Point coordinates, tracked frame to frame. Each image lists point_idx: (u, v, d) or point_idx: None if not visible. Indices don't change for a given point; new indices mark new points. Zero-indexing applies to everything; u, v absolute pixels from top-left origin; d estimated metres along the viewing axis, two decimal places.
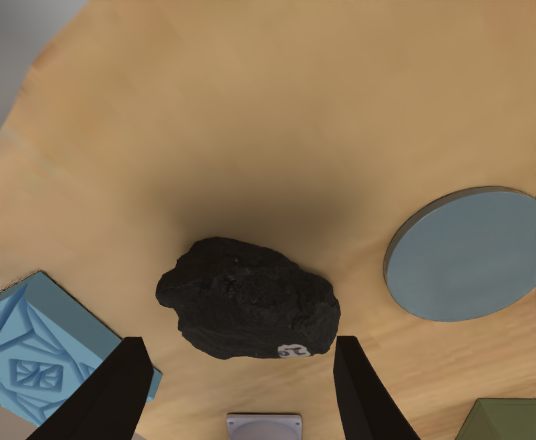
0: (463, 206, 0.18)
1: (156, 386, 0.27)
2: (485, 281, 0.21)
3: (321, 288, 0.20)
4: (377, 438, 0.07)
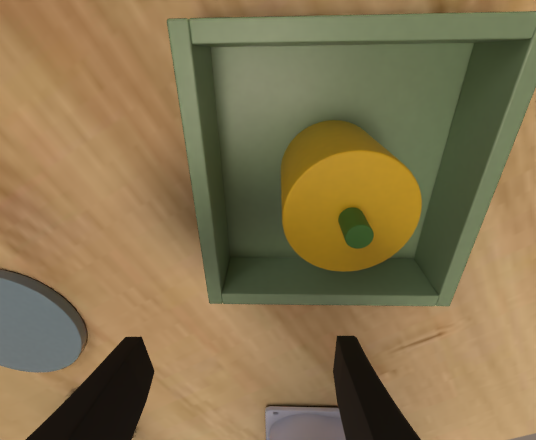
0: None
1: None
2: (19, 315, 0.22)
3: None
4: (376, 438, 0.07)
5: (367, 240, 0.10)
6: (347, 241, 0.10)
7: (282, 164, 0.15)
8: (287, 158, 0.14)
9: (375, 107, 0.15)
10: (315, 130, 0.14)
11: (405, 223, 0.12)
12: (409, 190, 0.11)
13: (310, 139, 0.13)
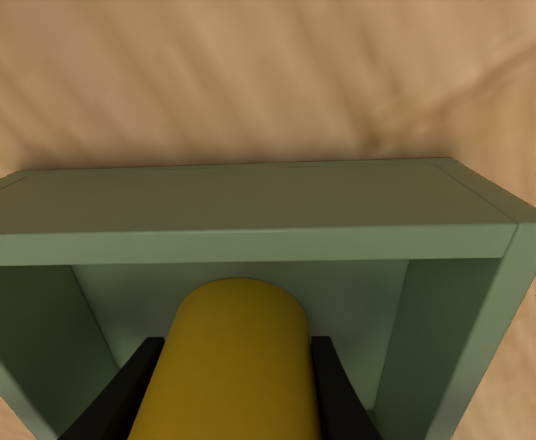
0: None
1: None
2: None
3: None
4: (339, 438, 0.07)
5: None
6: None
7: None
8: None
9: (293, 263, 0.10)
10: (199, 310, 0.10)
11: None
12: None
13: (181, 338, 0.09)
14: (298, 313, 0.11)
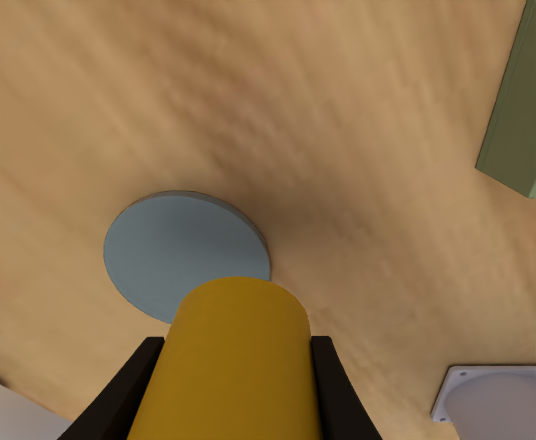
0: (127, 291, 0.21)
1: None
2: (205, 251, 0.19)
3: None
4: (338, 438, 0.07)
5: None
6: None
7: None
8: (163, 345, 0.10)
9: None
10: (199, 309, 0.10)
11: None
12: None
13: (182, 337, 0.09)
14: (298, 311, 0.11)
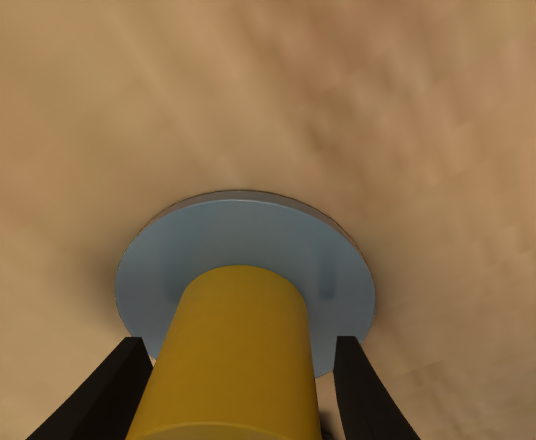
0: (149, 342, 0.14)
1: None
2: None
3: None
4: (377, 438, 0.07)
5: None
6: None
7: None
8: None
9: None
10: (202, 294, 0.10)
11: None
12: None
13: (186, 319, 0.09)
14: (296, 298, 0.11)
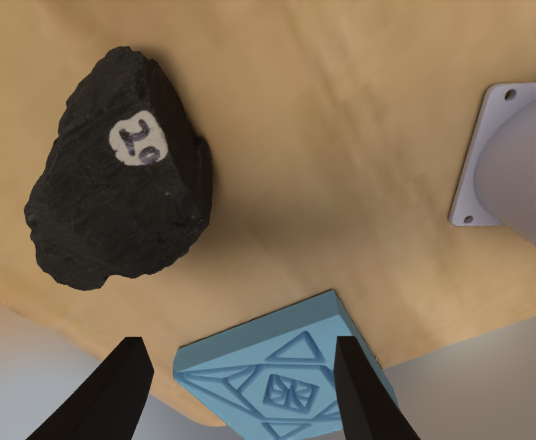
0: None
1: (333, 302, 0.20)
2: None
3: None
4: (376, 438, 0.07)
5: None
6: None
7: None
8: None
9: None
10: None
11: None
12: None
13: None
14: None
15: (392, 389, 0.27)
